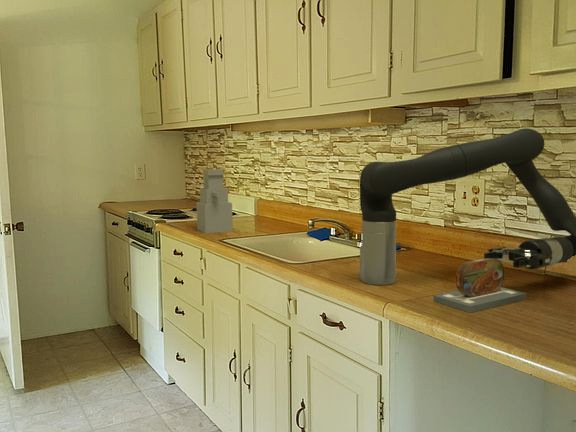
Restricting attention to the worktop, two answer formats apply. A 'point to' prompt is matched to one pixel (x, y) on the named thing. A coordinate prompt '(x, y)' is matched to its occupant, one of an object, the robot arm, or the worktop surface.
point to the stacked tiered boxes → (214, 204)
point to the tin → (480, 277)
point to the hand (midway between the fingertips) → (499, 260)
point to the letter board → (479, 299)
